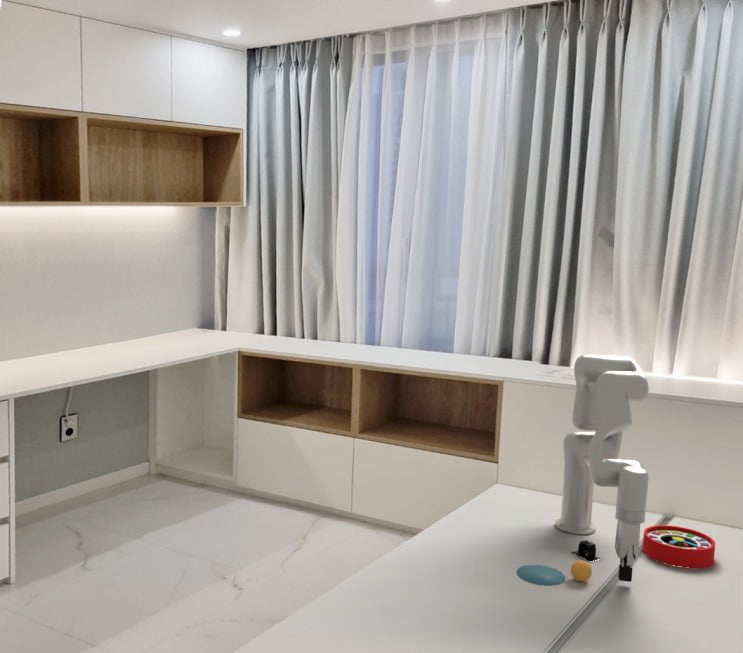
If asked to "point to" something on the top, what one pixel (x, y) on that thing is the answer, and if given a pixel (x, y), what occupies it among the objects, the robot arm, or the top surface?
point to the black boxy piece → (586, 551)
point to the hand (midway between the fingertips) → (624, 579)
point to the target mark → (541, 575)
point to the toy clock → (678, 546)
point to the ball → (581, 570)
